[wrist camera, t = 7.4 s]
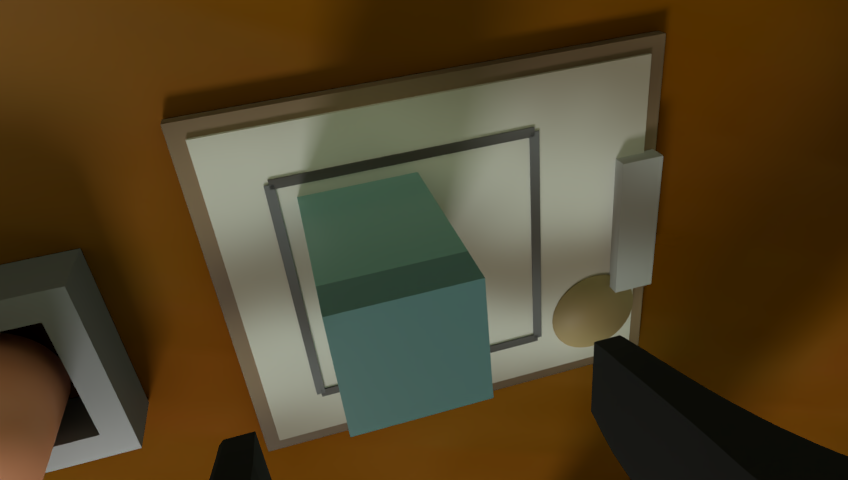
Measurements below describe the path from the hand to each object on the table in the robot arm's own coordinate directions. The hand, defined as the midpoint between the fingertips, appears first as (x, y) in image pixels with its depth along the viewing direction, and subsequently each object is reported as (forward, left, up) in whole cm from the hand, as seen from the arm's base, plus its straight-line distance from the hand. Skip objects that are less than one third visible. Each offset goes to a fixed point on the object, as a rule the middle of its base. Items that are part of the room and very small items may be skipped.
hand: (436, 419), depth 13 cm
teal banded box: (0, 0, -8) cm, 8 cm away
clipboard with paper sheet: (-1, -2, -8) cm, 9 cm away
